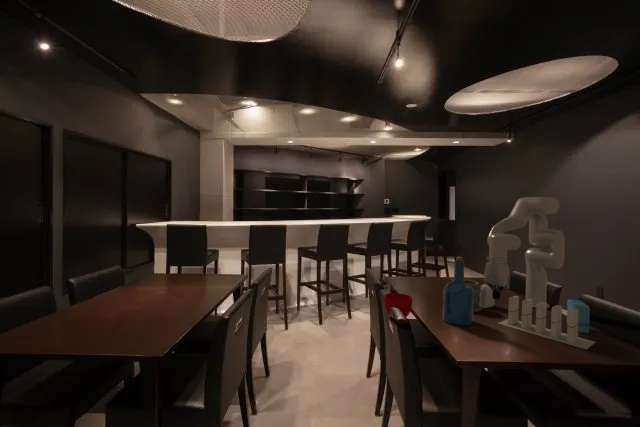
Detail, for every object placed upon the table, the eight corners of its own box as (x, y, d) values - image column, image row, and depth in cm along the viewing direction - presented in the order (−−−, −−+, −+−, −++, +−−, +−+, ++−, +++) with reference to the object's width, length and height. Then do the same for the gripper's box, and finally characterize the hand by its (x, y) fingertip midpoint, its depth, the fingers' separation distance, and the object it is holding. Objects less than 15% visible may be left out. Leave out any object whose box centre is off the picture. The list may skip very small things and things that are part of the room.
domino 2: (526, 325, 143) (527, 298, 143) (531, 326, 142) (532, 299, 141) (521, 327, 139) (522, 300, 139) (525, 329, 138) (526, 301, 138)
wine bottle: (449, 314, 156) (451, 254, 156) (477, 322, 147) (480, 257, 146) (436, 321, 146) (438, 256, 146) (466, 329, 137) (468, 260, 136)
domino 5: (571, 337, 130) (573, 308, 130) (577, 339, 128) (578, 309, 128) (566, 341, 126) (568, 311, 126) (572, 342, 125) (573, 312, 125)
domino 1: (513, 321, 148) (514, 295, 147) (517, 322, 146) (518, 296, 146) (507, 323, 144) (508, 297, 144) (512, 325, 142) (513, 298, 142)
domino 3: (540, 328, 139) (541, 301, 138) (545, 330, 137) (546, 302, 137) (535, 331, 135) (536, 304, 135) (540, 333, 134) (541, 305, 133)
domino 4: (555, 333, 134) (556, 305, 134) (561, 334, 133) (562, 306, 133) (550, 336, 131) (551, 307, 130) (555, 337, 129) (557, 308, 129)
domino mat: (509, 319, 152) (509, 318, 152) (595, 342, 126) (595, 341, 126) (497, 324, 145) (497, 323, 145) (586, 350, 119) (586, 349, 119)
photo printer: (487, 303, 176) (488, 281, 176) (495, 306, 172) (496, 283, 172) (477, 306, 170) (478, 283, 170) (485, 309, 167) (486, 285, 166)
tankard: (485, 309, 166) (486, 281, 166) (472, 313, 159) (473, 283, 158) (450, 299, 182) (451, 273, 182) (437, 303, 175) (438, 276, 175)
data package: (589, 335, 134) (590, 307, 134) (576, 333, 136) (577, 305, 135) (578, 325, 145) (579, 299, 145) (566, 324, 147) (567, 298, 147)
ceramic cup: (410, 312, 159) (411, 292, 159) (412, 323, 142) (413, 301, 142) (384, 309, 162) (384, 290, 161) (383, 320, 145) (384, 299, 145)
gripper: (478, 258, 154) (476, 296, 154) (511, 263, 142) (509, 304, 142) (485, 257, 159) (484, 294, 159) (518, 262, 147) (516, 301, 147)
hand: (496, 299), depth 151 cm, fingers closed
